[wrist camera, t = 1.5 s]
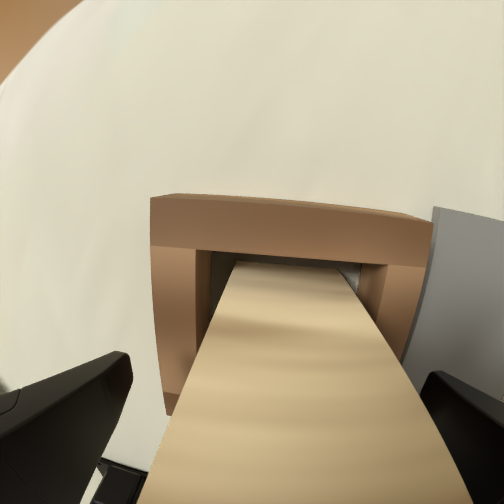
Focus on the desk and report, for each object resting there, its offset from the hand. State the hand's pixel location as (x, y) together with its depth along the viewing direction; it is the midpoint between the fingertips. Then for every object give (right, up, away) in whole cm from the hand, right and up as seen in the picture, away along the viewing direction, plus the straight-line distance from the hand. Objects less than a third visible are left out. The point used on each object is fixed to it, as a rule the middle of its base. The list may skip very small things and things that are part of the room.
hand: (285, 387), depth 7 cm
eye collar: (0, +1, +4) cm, 5 cm away
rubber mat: (+12, -2, +4) cm, 13 cm away
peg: (0, +1, +4) cm, 5 cm away
